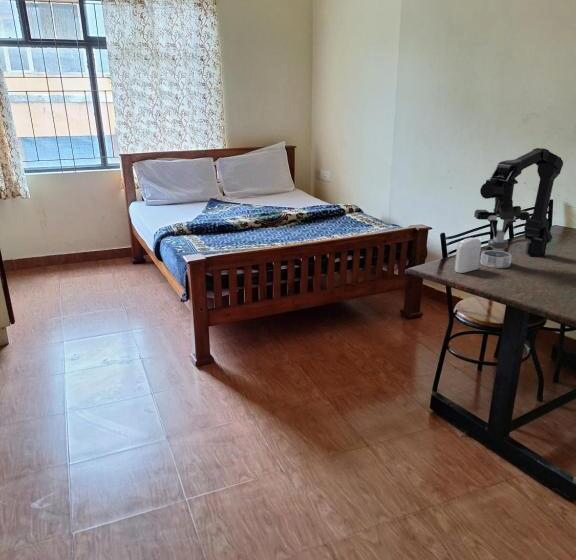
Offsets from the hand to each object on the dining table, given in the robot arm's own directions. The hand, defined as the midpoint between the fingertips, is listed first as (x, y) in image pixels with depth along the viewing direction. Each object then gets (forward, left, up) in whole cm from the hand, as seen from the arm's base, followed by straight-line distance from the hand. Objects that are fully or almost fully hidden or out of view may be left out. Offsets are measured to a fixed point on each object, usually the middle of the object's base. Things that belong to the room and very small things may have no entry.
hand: (498, 237), depth 192 cm
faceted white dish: (0, 0, -11) cm, 11 cm away
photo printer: (+13, +10, -11) cm, 20 cm away
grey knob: (0, 0, -4) cm, 4 cm away
